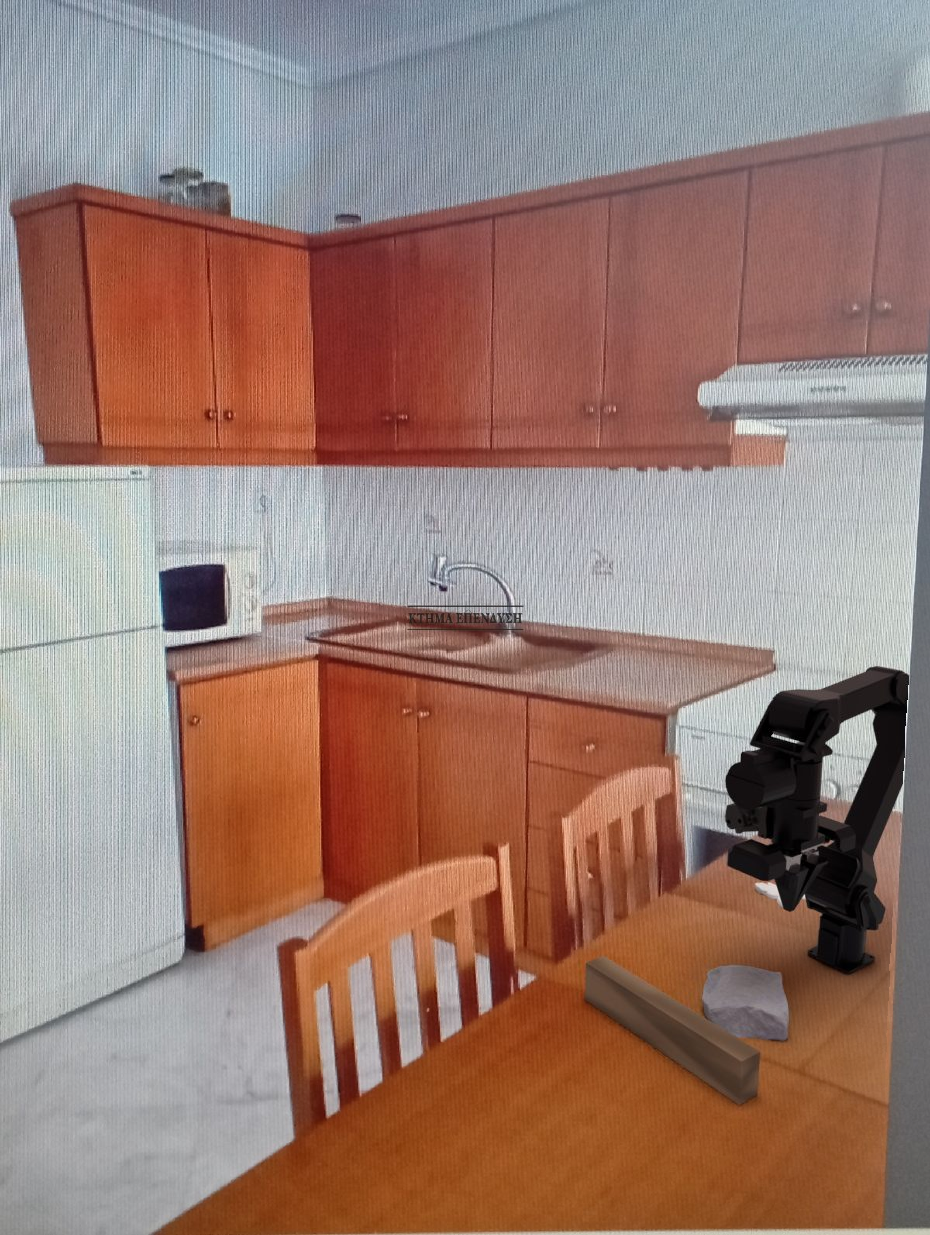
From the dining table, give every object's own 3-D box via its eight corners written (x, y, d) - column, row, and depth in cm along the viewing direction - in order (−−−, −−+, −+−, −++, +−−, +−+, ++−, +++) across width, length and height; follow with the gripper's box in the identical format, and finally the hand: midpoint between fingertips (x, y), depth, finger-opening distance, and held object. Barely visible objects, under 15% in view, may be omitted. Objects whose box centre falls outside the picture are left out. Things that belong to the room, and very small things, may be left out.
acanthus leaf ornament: (784, 912, 144) (784, 901, 143) (748, 895, 149) (749, 884, 149) (816, 900, 148) (817, 889, 147) (780, 884, 153) (781, 873, 153)
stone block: (708, 1049, 112) (796, 1044, 109) (702, 1011, 111) (790, 1005, 109) (704, 998, 123) (783, 993, 121) (698, 963, 123) (778, 957, 121)
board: (602, 992, 120) (603, 955, 119) (757, 1094, 101) (760, 1051, 100) (584, 999, 118) (585, 962, 118) (739, 1105, 99) (741, 1061, 98)
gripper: (788, 763, 130) (781, 870, 132) (695, 789, 119) (690, 905, 122) (862, 785, 121) (853, 900, 123) (769, 815, 110) (761, 940, 113)
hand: (788, 909), depth 120 cm, fingers closed
